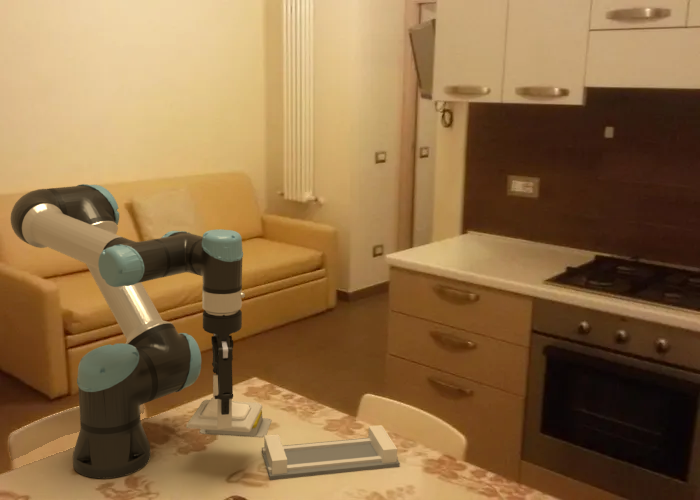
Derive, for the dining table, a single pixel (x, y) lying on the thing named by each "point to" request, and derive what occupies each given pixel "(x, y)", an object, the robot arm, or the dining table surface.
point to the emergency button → (257, 430)
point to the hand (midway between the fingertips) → (222, 415)
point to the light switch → (241, 416)
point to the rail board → (329, 455)
